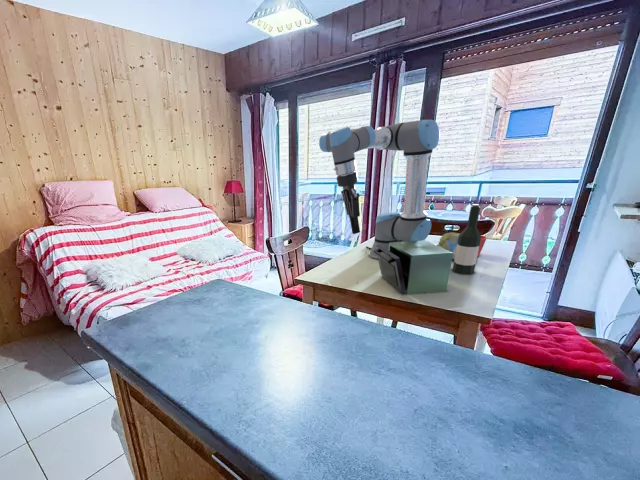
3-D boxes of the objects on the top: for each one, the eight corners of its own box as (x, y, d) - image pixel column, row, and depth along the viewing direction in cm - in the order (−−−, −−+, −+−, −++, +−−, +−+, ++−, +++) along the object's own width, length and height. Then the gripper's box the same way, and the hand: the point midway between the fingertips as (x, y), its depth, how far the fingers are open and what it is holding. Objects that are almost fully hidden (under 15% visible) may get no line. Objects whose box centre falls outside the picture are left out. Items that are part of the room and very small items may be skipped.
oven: (406, 294, 130) (411, 255, 124) (385, 276, 148) (389, 242, 142) (446, 291, 130) (453, 252, 124) (420, 274, 149) (425, 240, 143)
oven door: (396, 296, 130) (389, 261, 124) (377, 278, 148) (370, 247, 143) (406, 293, 130) (399, 257, 124) (385, 276, 148) (378, 244, 142)
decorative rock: (469, 231, 154) (460, 225, 168) (432, 240, 160) (427, 234, 173) (474, 258, 157) (465, 251, 171) (438, 266, 163) (432, 259, 177)
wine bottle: (472, 275, 144) (487, 206, 132) (451, 272, 148) (463, 205, 137) (474, 269, 150) (488, 203, 139) (453, 267, 154) (465, 202, 143)
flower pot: (482, 252, 172) (486, 234, 169) (482, 258, 164) (486, 239, 160) (459, 250, 178) (462, 233, 174) (458, 256, 169) (461, 237, 166)
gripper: (331, 175, 127) (341, 231, 137) (342, 178, 115) (353, 239, 125) (349, 169, 127) (359, 226, 137) (362, 171, 115) (371, 234, 125)
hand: (356, 232), depth 131 cm, fingers closed
